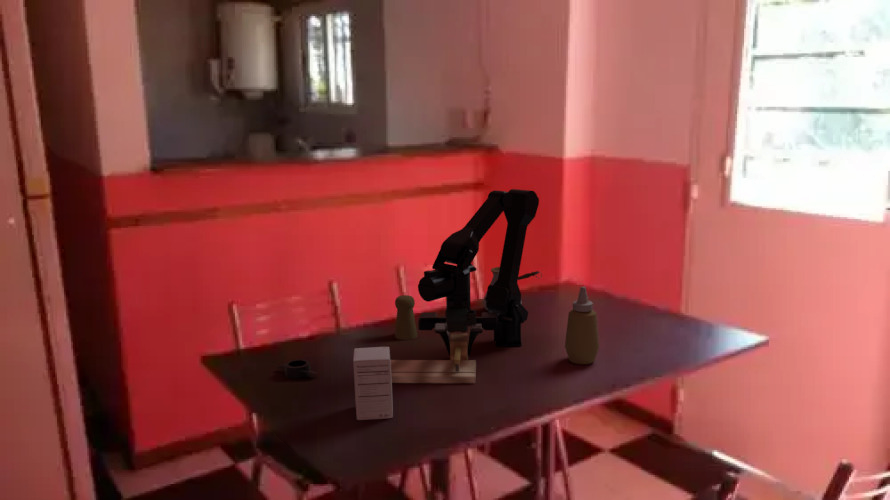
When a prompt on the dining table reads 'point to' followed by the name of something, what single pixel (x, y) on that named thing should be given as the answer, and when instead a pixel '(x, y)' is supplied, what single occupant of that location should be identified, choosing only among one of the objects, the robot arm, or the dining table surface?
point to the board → (432, 371)
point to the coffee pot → (495, 277)
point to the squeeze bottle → (582, 331)
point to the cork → (405, 318)
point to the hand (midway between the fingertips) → (459, 355)
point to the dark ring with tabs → (297, 369)
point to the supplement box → (373, 383)
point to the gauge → (458, 349)
